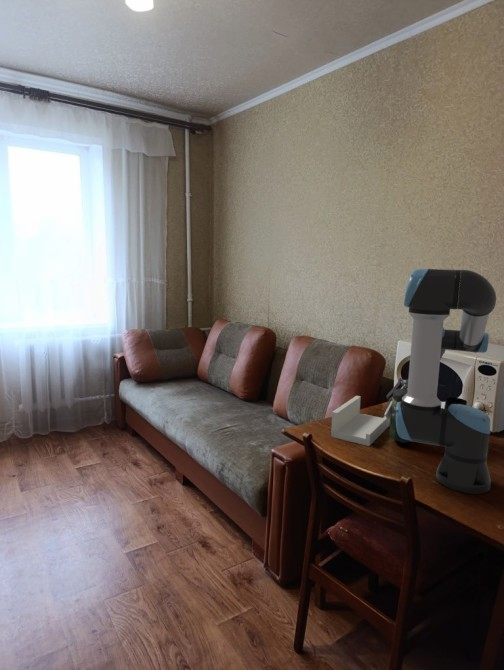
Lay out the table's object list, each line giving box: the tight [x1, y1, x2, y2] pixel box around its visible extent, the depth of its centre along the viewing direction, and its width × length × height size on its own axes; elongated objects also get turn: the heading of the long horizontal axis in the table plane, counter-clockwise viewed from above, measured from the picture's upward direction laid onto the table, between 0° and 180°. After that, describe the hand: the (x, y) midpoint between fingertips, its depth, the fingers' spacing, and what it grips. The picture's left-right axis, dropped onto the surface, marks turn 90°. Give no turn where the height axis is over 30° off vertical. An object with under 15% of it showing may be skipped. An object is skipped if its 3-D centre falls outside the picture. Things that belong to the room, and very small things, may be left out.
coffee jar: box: [389, 388, 412, 443], centre depth 162 cm, size 10×8×19 cm
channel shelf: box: [330, 395, 391, 447], centre depth 173 cm, size 26×15×10 cm, turn 147°
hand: (398, 420), depth 160 cm, fingers closed on coffee jar, 9 cm apart
